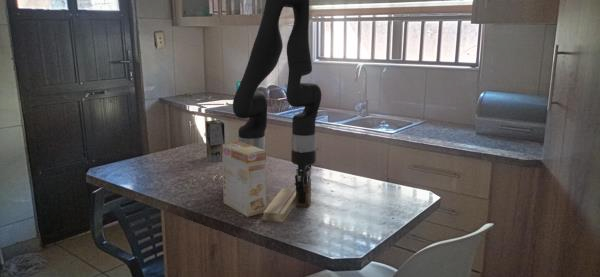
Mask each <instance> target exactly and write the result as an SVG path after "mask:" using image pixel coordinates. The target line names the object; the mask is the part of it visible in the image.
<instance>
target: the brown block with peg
mask: <svg viewBox="0 0 600 277" xmlns="http://www.w3.org/2000/svg"><path fill="white" fill-rule="evenodd" d="M304 182H305V181H304ZM294 186H296V182H294ZM300 188H302V186H300ZM311 191H312V178H310V179H308V183H307V185H306V201H305V203H299V202H298V192H296V203H295V206H296V207H305V208H307V207H308V208H309V206H310V205H311V203H312V199H311V198H312V192H311Z"/></svg>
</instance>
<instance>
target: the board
mask: <svg viewBox="0 0 600 277" xmlns="http://www.w3.org/2000/svg"><path fill="white" fill-rule="evenodd" d="M294 206H296V188H284V187H282V188H280V190H279V192H278V193H277V194H276V196H275V197H274V198H273V200H272V201H271V202H270V203H269V204H268V206H266V210H265V211H264V212H263V213H262V214H263V216H262V217H263V221H267V222H268V221H270V222H280V223H284V222H285V220H286V219H287V217H288V215H290V213H291V211H292V210H293V208H294Z"/></svg>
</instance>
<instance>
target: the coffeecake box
mask: <svg viewBox="0 0 600 277" xmlns="http://www.w3.org/2000/svg"><path fill="white" fill-rule="evenodd" d="M266 152H267V150H266V149H265V150H263V149H260V148H257V147H254V146H251V145H248V144H245V143H242V142H239V141H234V142H230V143H225V144H222V161H221V163H222V185H223V186H222V188H223V189H222V190H223V191H222V194H223V204H225V205H227V206H228V207H230V208H231V209H233V210H235V211H237V212H238V213H241V214H242V215H243V216H246V218H248V217H252V216H256V215H262V214H263V212H264V211H265V210H266V208H267V154H266Z"/></svg>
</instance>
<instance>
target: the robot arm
mask: <svg viewBox="0 0 600 277" xmlns="http://www.w3.org/2000/svg"><path fill="white" fill-rule="evenodd" d="M284 8H292V12H293V16H294V17H293V26H292V30H291V33H290V35H289V37H288V40H287V43H286V44H287V45H286V58H287V65H288V76H287V77H288V78H287V86H286V90H285V91H286V92H285V94H286V100H287V102H288V104H289V105H290V107H293V108H302V107H303V111H301V112H300V113H297V114H295V115H293V116H292V122H291V123H292V124H291V126H292V127H291V128H292V131H291V132H292V135H291V151H290V152H291V163H292V164H293V165H297V169H296V170H295V175H294V183H296V185H295V189H296V192H298V202H299V203H305V201H306V185H307V183H308V179H311V175H312V174H311V173H312V172H311V171H312V165H314V164H315V163H316V162H317V161H316V156H317V154H316V153H317V152H316V151H317V139H316V120H317V116H318V111H319V108H320V105H321V100H322V90H321V88H320V85H319V84H317V83H316V82H301V80H302V77H304V76H307V75H310V74H312V72H313V66H312V65H313V64H312V57H311V51H310V50H311V49H310V42H309V41H310V37H309V32H310V31H309V30H310V29H309V24H310V0H265V4H264V9H263V13H262V18H261V21H260V24H259V28H258V31H257V33H256V34H257V35H256V37H255V40H254V42H253V45H252V49H251V51H250V56H249V59H248V62H247V65H246V68H245V71H244V73H243V76H242V78H241V81H240V83H239V85H238V86H237V87H238V88H237V89H236V91H235V95H234V97H233V100H232V110H233V111H232V112H233V113H234V115H235V116H236V118H239V119H248V121H247V122H245V124H244V125H242V126H240V127H239V129H238V142H242V143H245V144H248V145H251V146H254V147H257V148H260V149H263V150H266V140H265V138H266V134H265V132H266V129H267V125H268V124H267V119H268V101H267V97H266V95H265V93H264V92H263V91H262V90H258V89H259V88H258V87H259V86H260V85H261V84H262V82H263V81H264V80H266V78H267V77H269V75H270V74H271V73H272V72H273V71H274V70H275V68H276V67H277V65H278V62H279V60H280V57H281V55H282V51H283V48H284V47H283V45H284V44H283V38H282V34H281V30H280V17H281V14H282V11H283V9H284ZM304 181H305V182H304ZM300 186H302V188H300Z"/></svg>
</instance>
